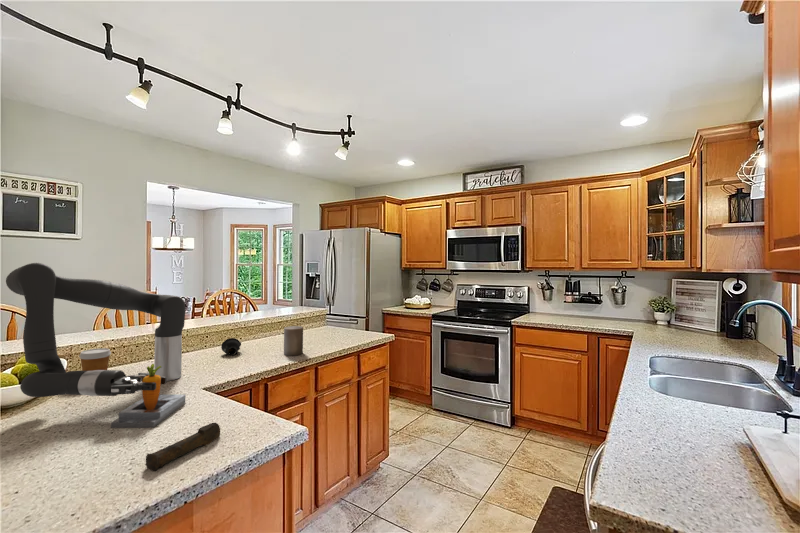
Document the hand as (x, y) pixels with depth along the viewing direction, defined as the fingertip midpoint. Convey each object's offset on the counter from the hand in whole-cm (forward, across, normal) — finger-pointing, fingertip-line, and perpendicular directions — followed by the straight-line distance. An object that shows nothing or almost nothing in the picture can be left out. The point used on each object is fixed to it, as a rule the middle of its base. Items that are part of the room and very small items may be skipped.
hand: (160, 383), depth 114 cm
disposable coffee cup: (-41, +31, +10) cm, 52 cm away
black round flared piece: (-7, +79, +10) cm, 80 cm away
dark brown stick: (+19, -23, +10) cm, 31 cm away
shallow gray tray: (-2, 0, +10) cm, 10 cm away
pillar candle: (+24, +77, +10) cm, 81 cm away
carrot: (-3, 0, +9) cm, 10 cm away
